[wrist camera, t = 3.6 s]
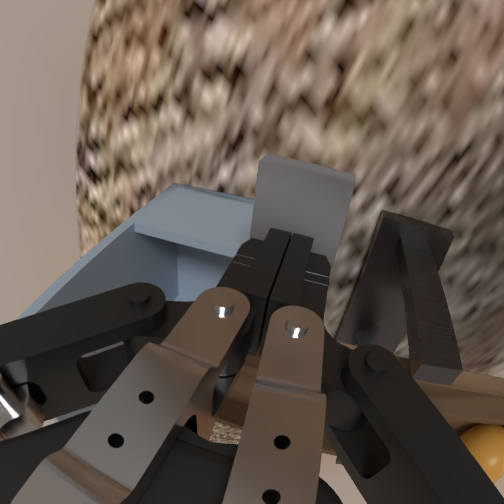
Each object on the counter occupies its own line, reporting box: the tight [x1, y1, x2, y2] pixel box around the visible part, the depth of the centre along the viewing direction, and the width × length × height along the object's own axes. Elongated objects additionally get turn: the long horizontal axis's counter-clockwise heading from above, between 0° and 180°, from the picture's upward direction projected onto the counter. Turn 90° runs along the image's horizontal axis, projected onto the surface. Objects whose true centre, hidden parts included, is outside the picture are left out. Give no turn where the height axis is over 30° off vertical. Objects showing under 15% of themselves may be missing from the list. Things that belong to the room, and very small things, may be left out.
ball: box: [459, 424, 504, 483], centre depth 11 cm, size 4×4×4 cm
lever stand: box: [335, 210, 462, 465], centre depth 18 cm, size 13×5×11 cm, turn 173°
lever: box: [216, 154, 504, 456], centre depth 12 cm, size 14×18×3 cm
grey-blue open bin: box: [17, 183, 254, 422], centre depth 18 cm, size 10×10×16 cm
